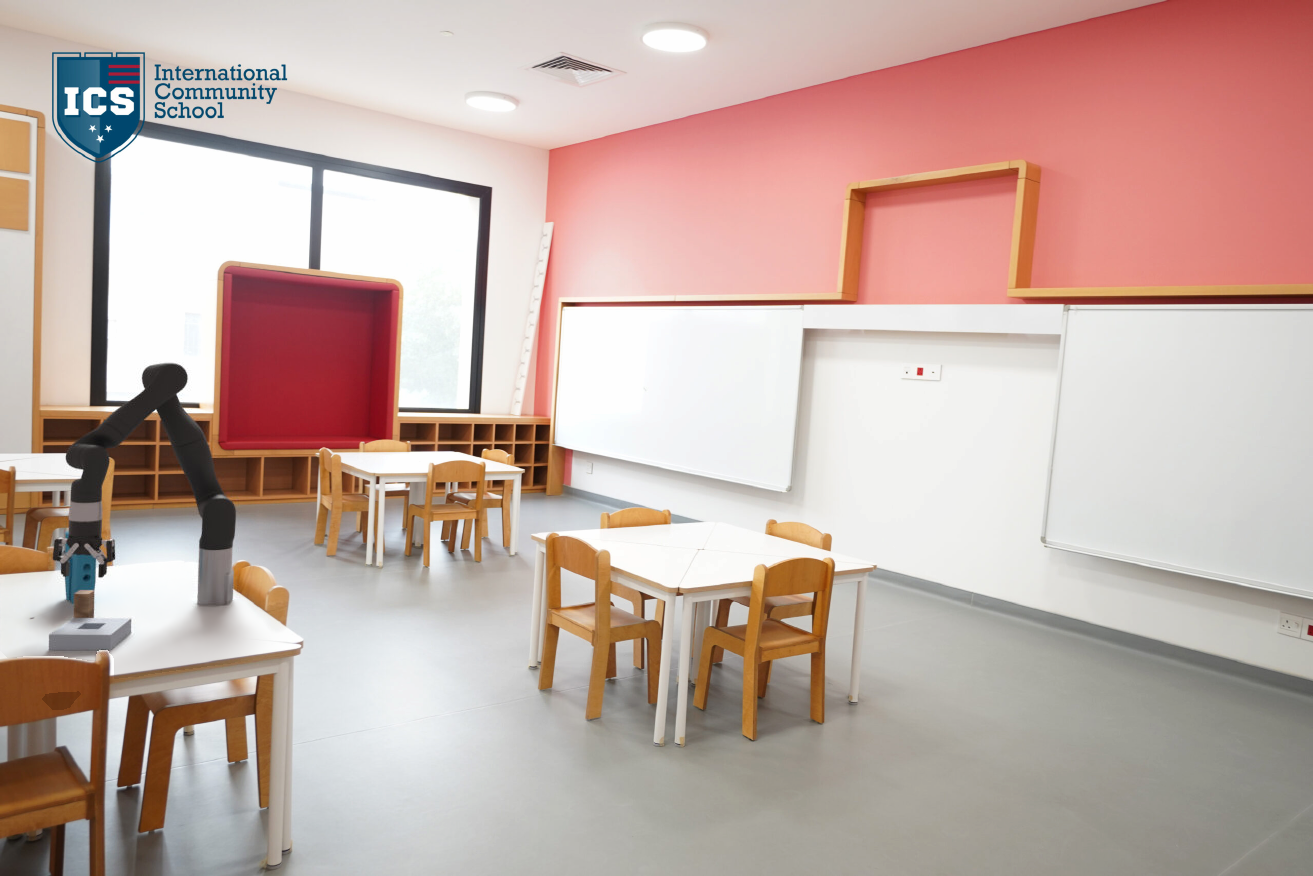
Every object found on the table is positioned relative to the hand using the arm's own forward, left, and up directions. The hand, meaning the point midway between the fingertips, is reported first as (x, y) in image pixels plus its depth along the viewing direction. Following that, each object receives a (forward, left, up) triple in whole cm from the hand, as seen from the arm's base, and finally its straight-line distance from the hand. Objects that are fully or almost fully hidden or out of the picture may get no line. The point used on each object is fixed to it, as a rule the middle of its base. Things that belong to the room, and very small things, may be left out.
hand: (83, 576), depth 234 cm
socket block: (-6, +11, -14) cm, 19 cm away
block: (+11, -26, -14) cm, 31 cm away
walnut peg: (0, 0, -14) cm, 14 cm away
